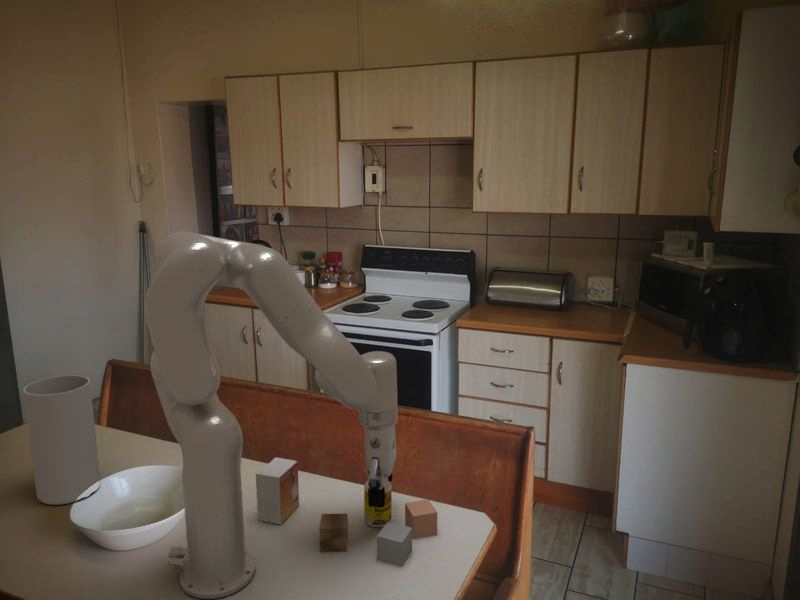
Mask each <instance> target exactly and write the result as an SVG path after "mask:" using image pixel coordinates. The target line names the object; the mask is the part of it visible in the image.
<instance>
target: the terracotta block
mask: <svg viewBox="0 0 800 600" xmlns="http://www.w3.org/2000/svg"><path fill="white" fill-rule="evenodd" d="M404 526H406V527H411V528H412V540H417V539H421V538H426V537H427V538H428V537H433V536H437V535H438V511H437V510H436V508H435V506H434V505H433V503H431V500H429V499H422V500H421V499H420V500H417V501H410V502H405V504H404Z"/></svg>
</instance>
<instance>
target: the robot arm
mask: <svg viewBox="0 0 800 600" xmlns="http://www.w3.org/2000/svg"><path fill="white" fill-rule="evenodd" d="M156 261H157V264H158V266H159V267H158V269H157V270H156V272H155V274H154V275H153V277H152V279H151V282H150V283H149V286H148V289H147V292H146V296H145V301H144V302H145V303H144V312H145V313H144V314H145V320H146V323H147V328H148V332H149V335H150V340H151V344H152V347H153V352H152V354H151V357H150V373H151V377H152V379H153V383H154V387H155V389H156V392H157V395H158V399H159V402H160V404H161V407H162V410H163V413H164V416H165V420H166V422H167V425H168V428H169V430H170V432H171V433H172V435H173V437H174V438H175V439H176V442H177V443H178V445H179V446H180V449H181V453H182V462H183V463H182V494H183V504H184V506H183V507H184V519H185V532H186V544H187V548H186V547H179V546H171V547H170V549H169V551H168V558H169V560H168V566H170V567H180V568H181V569H182V570H181V572H180V576H179V579H180V580H179V581H180V586H181V589H182V590H183V592H185V594H187V595H189V596H191V597H193V598H197V599H205V600H209V599H211V600H213V599H219V598H223V597H226V596H230V595H231V594H235V593H236V592H239V591H240V590H243V588H244V587H246V586H247V585H248V584H249V583H250V582H251V580H252V579H253V577H254V575H255V572H256V571H255V569H256V565H255V559H254V558H253V557H252V556H251V555H250V554H249V553H248V552H246V544H245V527H244V526H245V525H244V523H245V522H244V509H243V508H244V507H243V505H244V504H243V490H242V489H243V488H242V458H243V457H242V453H243V446H244V445H243V444H244V443H243V439H244V438H243V432H242V428H241V425H240V423H239V421H238V419H237V418H236V417H235V415H234V414H233V413H232V411H230V409H228V408H227V407H226V406H225V404H223V403H222V401H220V398H219V396H218V393H217V391H218V390H219V387H220V383H221V369H220V365H219V362H218V359H217V357H216V353H215V349H214V347H213V344H212V341H211V338H210V334H209V330H208V325H207V321H206V316H205V307H204V306H205V302H206V299H207V296H208V294H209V293H210V291H211V290H212V289H213V287H214V286H218V287H227V288H233V289H240V290H242V291H244V292H245V293H246V294H247V296H249V297H250V299H251V301H253V302H254V304H255V305H256V307H257V308H258V309H259V310H260V312H261V313H262V314H263V316H264V317H265V318H266V319H267V321H268V322H269V323H270V324H271V327H272V328H274V330H275V331H276V333H277V334H278V335H279V336H280V338H281V339H282V341H284V342H285V344H287V345H288V346H289V347H290V348H291V349H292V350H294V352H296V353H297V354H298V355H300V356H301V357H302V358H303V359H304V360H306V361H307V362H309V363H310V364H311V365H312V366H313V368H315V372H314V380H315V382H316V385H317V386H318V388H319V389H320V390H321V391H322V392H323V393H325V394H326V395H327V396H329V397H331V398H332V399H334V400H335V401H336V402H338V403H340V404H341V405H343V406H344V407H345V408H347V409H350V410H358V411H359V424H360V426H362V427H364V462H365V472H366V473H365V474H366V475H367V476H368V475H369V483H368V503H369V506H370V507H384V506H385V487H383V481H384V476H388V481H389V482H390V483H391V482H392V481H393V470H394V466H395V462H396V459H397V442H396V427H395V426H396V425H397V423H398V421H399V417H398V416H399V415H398V378H397V376H398V375H397V373H398V372H397V367H398V366H397V360H396V357H395V356H394V355H393V354H392V353H390V352H388V351H381V350H375V351H369V352H365V353H363V354H360V353H359V352H358V350H357V349H356V348H355V346H354V345H353V344H352V343H351V342H350V341H349V340H348V338H347V337H346V336H345V335H344V334H343V333H342V332H341V331H340V330H339V328H338V327H337V326H336V325H335V324H334V322H333V321H332V320H331V319H330V318H329V317H328V316H327V314H325V312H324V311H323V310H322V308H320V306H319V305H318V304H317V302H316V300H315V299H314V298H313V296H312V295H311V294H310V293H309V291H308V289H307V288H306V286H305V285H304V284H303V283H302V281H301V279H300V278H299V276H298V275H297V273H296V272H295V271H294V269H293V268H292V267H291V265H290V264H289V262H288V261H287V260H286V258H285V257H284V256H283V255H282V254H281V253H280V252H278V250H275V249H273V248H271V247H267V246H264V245H260V244H257V243H252V242H244V241H238V240H233V239H227V238H222V237H218V236H217V237H216V236H211V235H206V234H201V233H196V232H191V231H183V230H182V231H175V232H173V233H171V234H169V235H167V236H165V238H163V240H162V241H161V242H160V243H159V246H158V247H157V252H156ZM378 471H382V472H378ZM377 477H380V482H379V480H377Z"/></svg>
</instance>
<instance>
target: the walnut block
mask: <svg viewBox="0 0 800 600" xmlns="http://www.w3.org/2000/svg"><path fill="white" fill-rule="evenodd" d="M348 516H349V515H348V513H321V516H320V522H319V523H320V524H319V529H318V530H319V553H347V552H348V538H349V537H348V536H349V533H348V532H349V531H348V530H349V529H348V528H349V527H348V525H349V524H348V520H349V519H348Z"/></svg>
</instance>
